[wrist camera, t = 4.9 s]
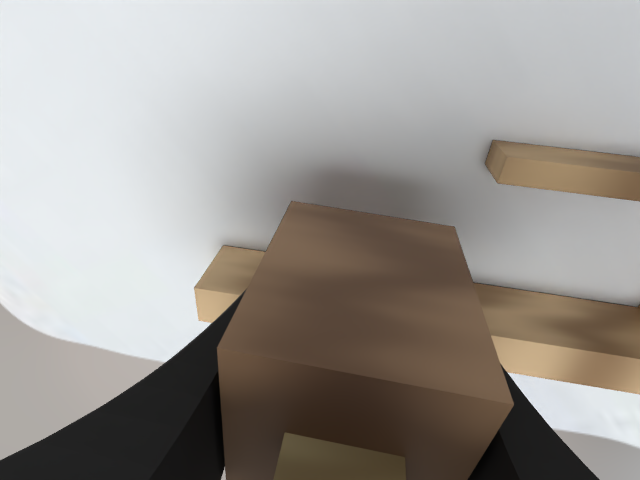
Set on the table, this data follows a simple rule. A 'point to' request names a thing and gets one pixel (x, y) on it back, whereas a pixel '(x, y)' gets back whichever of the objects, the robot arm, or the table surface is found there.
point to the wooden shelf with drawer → (512, 304)
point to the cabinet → (359, 355)
